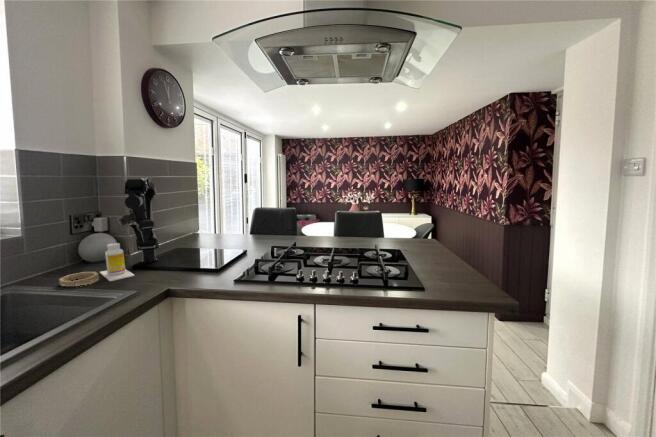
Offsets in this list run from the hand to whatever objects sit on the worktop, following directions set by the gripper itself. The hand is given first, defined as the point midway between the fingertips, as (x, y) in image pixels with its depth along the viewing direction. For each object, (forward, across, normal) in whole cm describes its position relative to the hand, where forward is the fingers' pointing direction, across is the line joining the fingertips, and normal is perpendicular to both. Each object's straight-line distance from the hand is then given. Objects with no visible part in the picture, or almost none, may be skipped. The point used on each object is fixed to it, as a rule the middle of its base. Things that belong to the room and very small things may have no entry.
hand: (141, 241), depth 146 cm
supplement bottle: (+13, 0, -11) cm, 17 cm away
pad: (+13, 0, -11) cm, 17 cm away
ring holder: (+13, 0, -24) cm, 27 cm away
